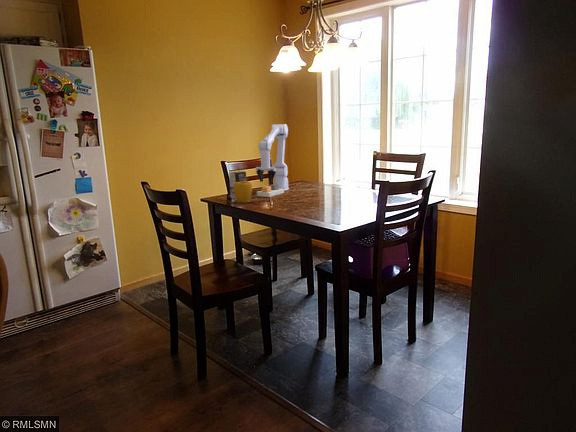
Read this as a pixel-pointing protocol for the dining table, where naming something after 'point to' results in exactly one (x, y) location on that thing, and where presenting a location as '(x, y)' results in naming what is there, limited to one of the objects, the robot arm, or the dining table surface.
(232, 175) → the coffee box
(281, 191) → the white rectangular base
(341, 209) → the dining table surface
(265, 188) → the plug
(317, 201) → the dining table surface
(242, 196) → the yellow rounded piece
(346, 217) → the dining table surface
